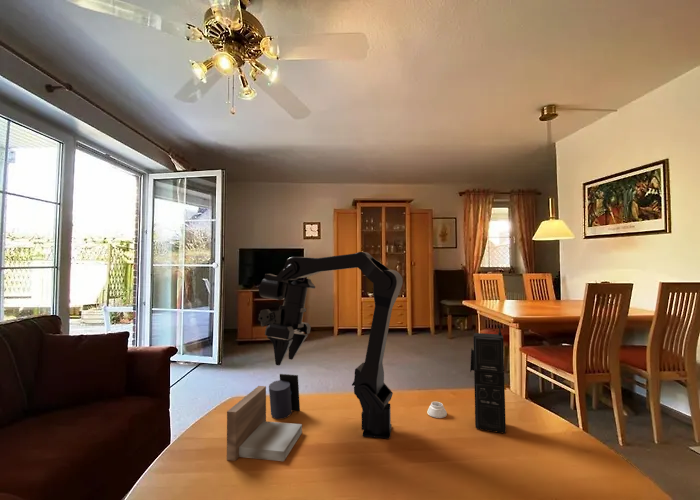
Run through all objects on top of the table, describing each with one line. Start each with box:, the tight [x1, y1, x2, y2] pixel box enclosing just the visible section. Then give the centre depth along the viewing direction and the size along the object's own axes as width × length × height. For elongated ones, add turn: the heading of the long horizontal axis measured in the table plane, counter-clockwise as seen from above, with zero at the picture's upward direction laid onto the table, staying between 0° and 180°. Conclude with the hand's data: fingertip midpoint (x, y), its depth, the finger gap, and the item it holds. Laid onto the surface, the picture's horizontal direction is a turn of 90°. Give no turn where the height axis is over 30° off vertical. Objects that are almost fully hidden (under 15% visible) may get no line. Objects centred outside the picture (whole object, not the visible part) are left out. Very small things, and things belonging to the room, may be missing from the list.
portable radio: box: [469, 325, 507, 434], centre depth 85 cm, size 8×6×25 cm
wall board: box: [226, 385, 303, 462], centre depth 77 cm, size 12×15×10 cm
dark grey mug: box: [268, 373, 301, 420], centre depth 92 cm, size 8×6×10 cm
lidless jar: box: [427, 401, 448, 419], centre depth 91 cm, size 5×3×5 cm
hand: (284, 362), depth 89 cm, fingers open, 9 cm apart
